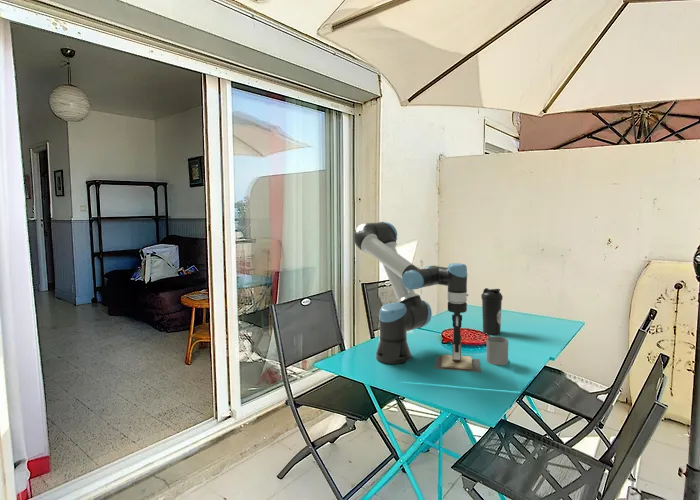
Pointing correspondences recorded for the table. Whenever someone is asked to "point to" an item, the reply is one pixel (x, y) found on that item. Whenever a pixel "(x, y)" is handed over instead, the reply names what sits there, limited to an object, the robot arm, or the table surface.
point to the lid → (463, 363)
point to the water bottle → (491, 311)
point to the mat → (475, 368)
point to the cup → (497, 350)
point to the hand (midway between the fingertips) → (456, 357)
